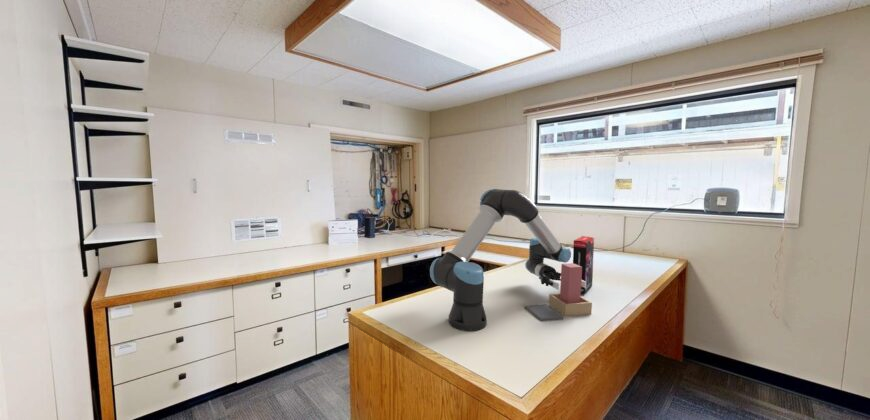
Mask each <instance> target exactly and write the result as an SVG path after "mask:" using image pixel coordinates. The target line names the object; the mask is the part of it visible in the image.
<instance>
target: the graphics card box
mask: <svg viewBox="0 0 870 420" xmlns="http://www.w3.org/2000/svg"><path fill="white" fill-rule="evenodd" d="M594 246H595V237H591V236H585V235H582V236H580V237H577V238H576V239H574V240H573V252H572V255H573V256H572V263H574V264H576V265H579V266H581V267H582V279H581V280H583V281H586V288H584V287H582V286H581V295H585V294H587V292H588V291H589V290H590V289H591V288H592V287H593V277H594V276H593V271H594V252H595V251H594V248H595V247H594Z"/></svg>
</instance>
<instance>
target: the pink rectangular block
mask: <svg viewBox="0 0 870 420" xmlns="http://www.w3.org/2000/svg"><path fill="white" fill-rule="evenodd" d="M560 270H561V271H560V273H561V276H560V279H561V281H560V285H559V289H560V290H559V294H560V300H561V301H563V302H564V303H566V304H570V303H580V296H581V295H582V294H581V279H582V267H581V266H579V265H576V264H574V263H573V262H572V263H561V269H560ZM581 297H582V296H581Z"/></svg>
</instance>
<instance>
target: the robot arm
mask: <svg viewBox="0 0 870 420" xmlns="http://www.w3.org/2000/svg"><path fill="white" fill-rule="evenodd" d="M478 209H479V213H478V214H477V216H475V218H474V219H473V221H472V222H471V223H470V225H469V226H468V228H467V229H466V231H465V232H464V233H463V235H462V236H461V238H460V239H459V240H458V241H457V243H456V244H455V245H454V247H453V248H452V250H449V251H446V252H445V253H444V255H443V256H442V257H437V258H436V259H434V260H433V261H432V262H431V265H430V267H429V276H430V278H431V281H432V282H433V283H434V284H435V285H438V286H439V287H440V288H443V289H446V290H448V291H450V292H452V293H453V302H452V306H451V309H450V311H449V314H448V324H449V325H450V326H451V327H452V328H454V329H458V330H461V331H467V332H471V331H473V332H474V331H479V330H482V329H484V328H486V326H487V325H488V323H487V322H488V320H487V315H486V311H485V308H484V304H483V303H484V301H483V300H484V284H485V283H484V282H485V281H484V280H485V278H484V277H485V276H484V268H482V266H480V265H479V264H477V263H475V262H470V260H471V258H472V257H473V255H474V254H475V253H476V251H477V249H478V248H479V247H480V246H481V243H482V242H483V241H484V240H485V238H486V237H487V235H488V233H489V232H490V230H491V229H492V228H493V227H494V225H495V223H499V222H501V221H502V219H503V217H504V216H511V217H514V218H517V219H518V221H520V223H523V224H525V226H526V227H527V228H528V229H529V231H530V232H531V233H532V235H533V236H534V237H532V238H530V240H529V246H528V247H529V249H528V251H529V252H528V255H529V256H528V259H527V260H525V261H526V262H525V263H524V264H525V269H526V270H527V271H528V272H529V273H530V274H532V275H534V276H536V277H538V279H539V280H540V283H541V285H544V284H545V287H549V286H550V287H552V288H553V289H556V290H559V289H560V283H559V281H560V282H561V272H559V271H557V270H556V269H555V267H553V266H550V265H549V264H546V263H544V261H545V259H547V260H551V261H556V262H559V263H563V264H567V263H568V262H569V261H570V260H571V257H572V251H571V248H569V247H566V246H563V245H562V244H561V242H559V240H558V238H557V237H556V236H555V234H554V233H553V232H552V230H551V229H550V227H549V226H548V224H547V223H546V222H545V221H544V219H543V218H542V217H541V215H540V214H539V213H540V211H539V208H538V206H537V205H536V204H535V203H534V201H532V200H531V199H530V198H529V197H528V196H527V195H526V194H525V193H523V192H521V191H519V190H515V189H500V188H499V189H498V188H493V189H492V188H491V189H488V190H486V191H484V193H482V194H481V196H480V202H479V208H478ZM557 281H558V282H557ZM581 286H582V287H584V288H586V281H583V280H581ZM559 291H560V290H559Z"/></svg>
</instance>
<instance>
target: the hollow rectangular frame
mask: <svg viewBox="0 0 870 420" xmlns="http://www.w3.org/2000/svg"><path fill="white" fill-rule="evenodd" d="M548 306H549V307H550V308H552V309H553V310H555V311H556V312H557V313H559V314H560V315H561V314H562V316H563V317H570V316H581V315H592V309H593V308H592V307H593V302H591V301H590V300H588V299H586V298H584V297H582V296H580V303H570V304H566V303H564V302H563V301H561V300H560V293H550V294H548Z"/></svg>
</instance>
